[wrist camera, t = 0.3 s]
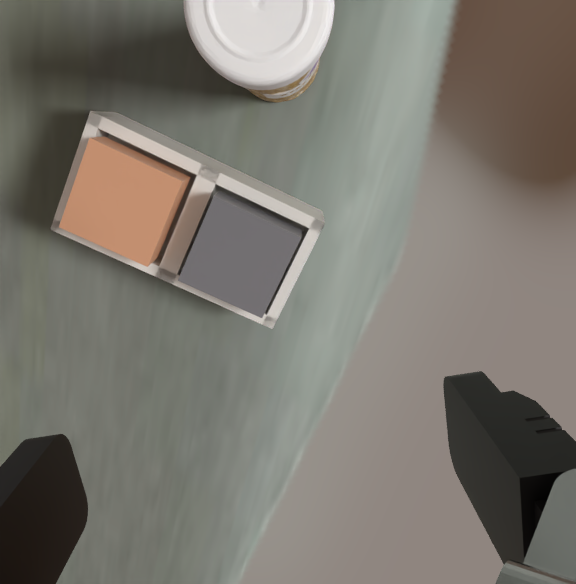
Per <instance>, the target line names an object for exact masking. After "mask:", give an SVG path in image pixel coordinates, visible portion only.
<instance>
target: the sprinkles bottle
mask: <svg viewBox="0 0 576 584" xmlns="http://www.w3.org/2000/svg"><path fill="white" fill-rule="evenodd" d="M184 14H185V20H186V24H187V28H188V31H189V34H190V37H191V39H192V41H193V43H194V45H195V47H196V48H197V50H198V52H199V53H200V55H201V56H202V57H203V59H204V60H205V61H206V62H207V63H208V64H209V65H210V66H211V67H212V68H213V69H214V70H215V71H216V72H217V73H219V74H220V75H221V76H223V77H224V78H226V79H227V80H229V81H231V82H232V83H234V84H237V85H239V86H242V87H244V88H246V89H248V90H249V91H250V92H251V93H253V94H254V95H255V96H257V97H259V98H261V99H263V100H265V101H271V102H282V101H288V100H292V99H294V98H296V97H298V96H299V95H300V94H302V93H303V92H304V91H305V90H306V89H307V88H308V87H309V86H310V84H311V83H312V82H313V80H314V78H315V76H316V73H317V71H318V67H319V61H320V56H321V54H322V52H323V50H324V48H325V46H326V44H327V41H328V38H329V35H330V32H331V28H332V23H333V16H334V0H184Z"/></svg>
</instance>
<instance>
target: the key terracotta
mask: <svg viewBox="0 0 576 584" xmlns="http://www.w3.org/2000/svg"><path fill="white" fill-rule="evenodd" d="M190 178H191V177H189V176H187V175H185V174H183V173H181V172H179V171H176V170H174V169H172V168H170V167H168V166H166V165H164V164H162V163H160V162H157V161H155V160H153V159H151V158H149V157H147V156H145V155H143V154H140V153H138V152H136V151H134V150H132V149H130V148H128V147H126V146H124V145H121V144H119V143H117V142H115V141H113V140H111V139H109V138H107V137H92V138H89V141H88V144H87V147H86V149H85V152H84V155H83V158H82V161H81V164H80V167H79V170H78V173H77V176H76V179H75V182H74V184H73V187H72V190H71V193H70V196H69V199H68V202H67V205H66V208H65V211H64V214H63V216H62V219H61V222H60V225H59V228H62V229H64V230H66V231H68V232H71V233H73V234H75V235H77V236H80V237H82V238H84V239H86V240H88V241H91V242H93V243H95V244H97V245H100V246H102V247H104V248H106V249H109V250H111V251H113V252H115V253H117V254H120V255H122V256H124V257H126V258H129V259H131V260H133V261H135V262H137V263H140V264H142V265H144V266H146V267H148V266H149V265H150V264H151V263H152V262H153V261H155V260H156V259H157V258H158V256H159V253H160V251H161V248H162V246H163V244H164V241H165V239H166V236H167V234H168V231H169V229H170V226H171V224H172V222H173V219H174V217H175V214H176V212H177V209H178V207H179V204H180V202H181V200H182V197H183V195H184V192H185V190H186V187H187V185H188V182H189V180H190Z"/></svg>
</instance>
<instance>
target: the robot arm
mask: <svg viewBox="0 0 576 584" xmlns="http://www.w3.org/2000/svg"><path fill="white" fill-rule="evenodd" d="M444 397H445V408H446V419H447V429H448V441H449V449H450V454H451V459H452V462H453V466H454V469H455V472H456V474H457V476H458V478H459V480H460V482H461V484H462V486H463V487H464V489H465V491H466V493H467V495H468V497H469V499H470V501H471V503H472V505H473V507H474V508H475V510H476V512H477V514H478V516H479V518H480V520H481V522H482V524H483V526H484V527H485V529H486V531H487V533H488V535H489V537H490V539H491V541H492V543H493V544H494V546H495V548H496V550H497V552H498V554H499V556H500V558H501V560H502V562H503V564H504V566H503V568H502V570H501V572H500V575H499V577H498V579H497V582H496V584H576V441H575V440H574V439H573V438H572V437H571V436H570V435H569V434H568V433H567V432H566V431H565V430H562V428H561V426H560V425H559V424H558V423H557V422H556V421H555V420H554V419H553V418H550V415H549V414H548V413H547V412H546V411H545V410H544V409H543V408H542V407H541V406H540V405H539V404H538V403H537V402H536V401H534V400H532V399H530V398H528V397H525V396H524V395H521V394H519V393H517V392H515V391H508V392H502V393H501V392H500V391H499V390H498V389H497V387H496V386H495V385H494V384H493V383H492V382H491V381H490V379H488V377H487V376H486V375H485V374H484V373H483V372H481V371H480V372H473V373H467V374H460V375H454V376H447V377H445V378H444ZM87 516H88V503H87V497H86V494H85V490H84V487H83V484H82V480H81V477H80V474H79V470H78V467H77V464H76V460H75V457H74V454H73V451H72V447H71V444H70V442H69V440H68V438H67V437H66V436H65V435H63V434H58V435H51V436H45V437H38V438H32V439H26V440H24V441H23V442H22V443H21V444H20V445H19V446H18V447H17V449H16V450H15V451H14V452H13V453H12V454H11V455H10V456H9V458H8V459H7V460H6V461H5V462H4V463H3V464H2V466H1V467H0V584H56V582H57V580H58V578H59V576H60V575H61V573H62V571H63V569H64V567H65V565H66V563H67V561H68V559H69V557H70V555H71V553H72V551H73V550H74V548H75V546H76V544H77V542H78V540H79V538H80V536H81V534H82V532H83V530H84V528H85V525H86V522H87Z"/></svg>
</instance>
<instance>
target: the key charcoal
mask: <svg viewBox="0 0 576 584" xmlns="http://www.w3.org/2000/svg"><path fill="white" fill-rule="evenodd" d="M301 238H302V230H301V229H299V228H297V227H295V226H293V225H291V224H289V223H286V222H284V221H282V220H280V219H278V218H276V217H274V216H272V215H269V214H267V213H265V212H263V211H261V210H259V209H257V208H255V207H253V206H250V205H248V204H246V203H244V202H242V201H240V200H238V199H236V198H234V197H231V196H229V195H227V194H225V193H223V192H221V191H219V192H218V193H217V194H216V195H214V197H213V199H212V201H211V204H210V206H209V208H208V211H207V213H206V215H205V218H204V220H203V222H202V225H201V227H200V229H199V232H198V234H197V236H196V239H195V241H194V244H193V246H192V248H191V251H190V253H189V255H188V258H187V260H186V262H185V265H184V267H183V269H182V272H181V274H180V276H179V279H178V281H180V282H182V283H184V284H187V285H189V286H191V287H193V288H195V289H198V290H200V291H202V292H204V293H207V294H209V295H211V296H213V297H215V298H218V299H220V300H222V301H224V302H227V303H229V304H231V305H233V306H236V307H238V308H240V309H242V310H244V311H247V312H249V313H251V314H253V315H256V316H258V317H260V318H262V317H263V315H264V313H265V311H266V309H267V307H268V305H269V303H270V301H271V299H272V297H273V295H274V293H275V291H276V289H277V287H278V285H279V283H280V281H281V279H282V277H283V275H284V272H285V270H286V268H287V266H288V264H289V262H290V260H291V258H292V256H293V254H294V252H295V250H296V248H297V246H298V244H299V242H300V240H301Z"/></svg>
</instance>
